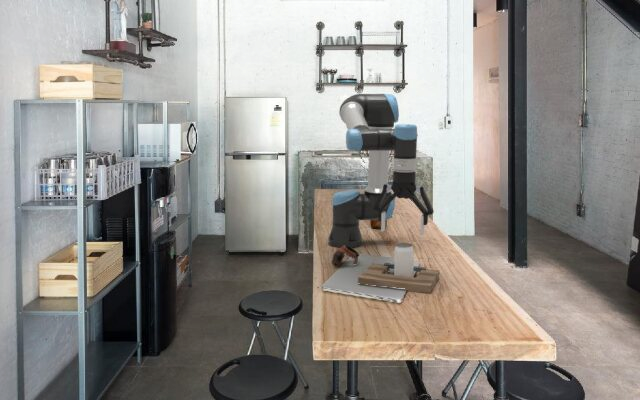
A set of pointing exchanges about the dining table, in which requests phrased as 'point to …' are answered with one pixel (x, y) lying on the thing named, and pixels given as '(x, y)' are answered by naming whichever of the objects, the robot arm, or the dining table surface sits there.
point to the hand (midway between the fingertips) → (402, 232)
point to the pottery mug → (341, 252)
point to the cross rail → (415, 268)
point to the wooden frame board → (399, 279)
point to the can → (404, 260)
